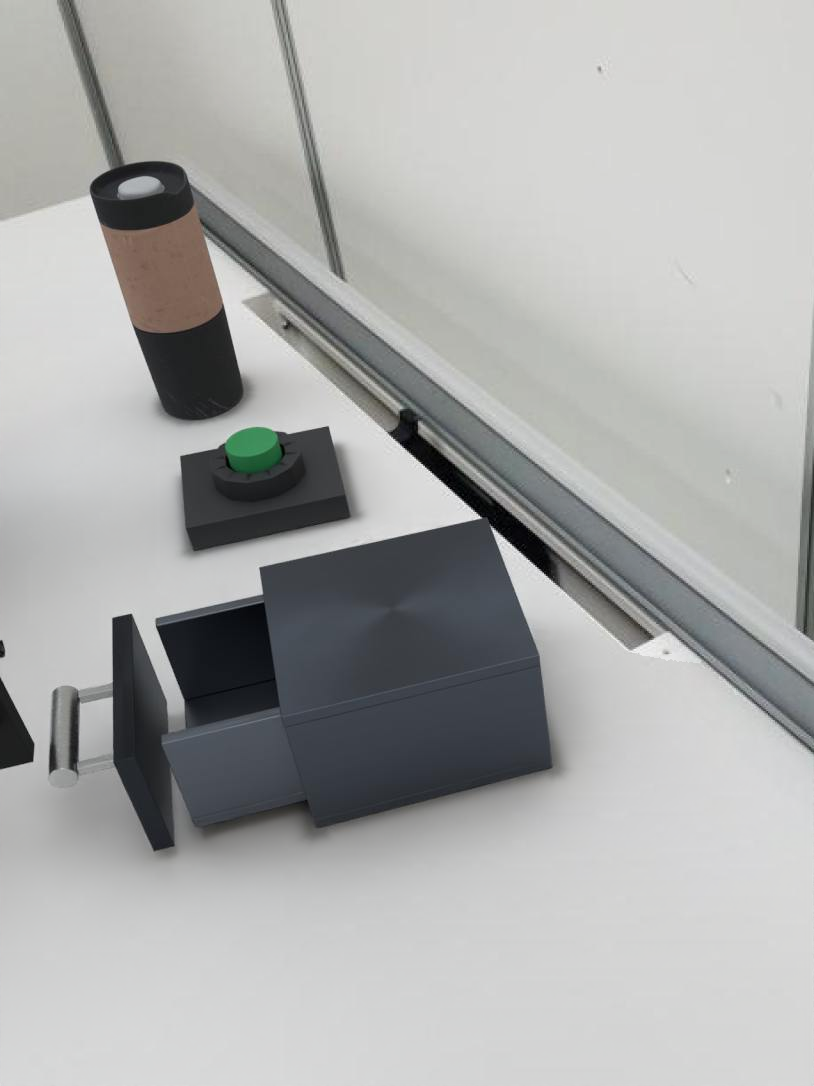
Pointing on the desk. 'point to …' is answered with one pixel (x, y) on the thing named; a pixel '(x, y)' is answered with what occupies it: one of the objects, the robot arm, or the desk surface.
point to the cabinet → (404, 670)
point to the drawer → (188, 721)
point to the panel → (262, 491)
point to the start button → (253, 450)
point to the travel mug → (169, 286)
